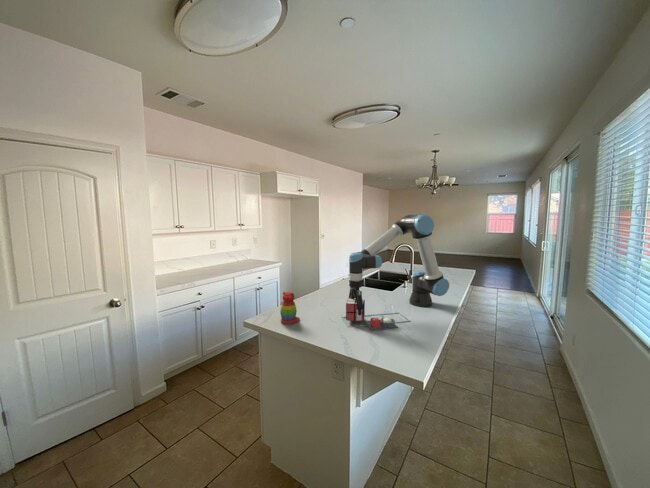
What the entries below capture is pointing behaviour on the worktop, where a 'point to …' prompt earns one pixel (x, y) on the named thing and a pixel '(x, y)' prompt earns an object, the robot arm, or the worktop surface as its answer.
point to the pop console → (381, 324)
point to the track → (373, 315)
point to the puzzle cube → (353, 310)
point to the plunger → (387, 320)
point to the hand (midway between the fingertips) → (355, 315)
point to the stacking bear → (288, 309)
